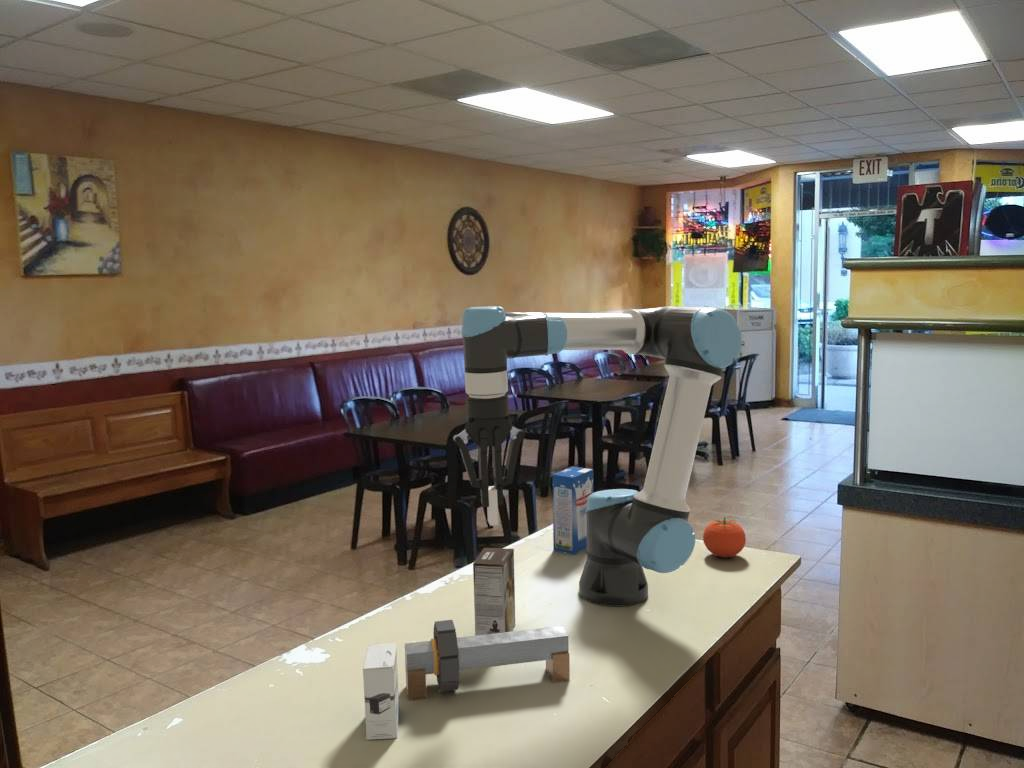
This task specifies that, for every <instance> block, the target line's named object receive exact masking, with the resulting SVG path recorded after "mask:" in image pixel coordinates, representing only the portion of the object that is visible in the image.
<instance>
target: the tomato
mask: <svg viewBox="0 0 1024 768" xmlns="http://www.w3.org/2000/svg"><path fill="white" fill-rule="evenodd" d="M702 535H703V536H702V539H703V540H702V541H703V544H704V546H705V547H706V549H707V550H708V551H709V552H710V553H711V554H713V555H715V556H716V557H720V558H731V557H734V556H736V555H738V554H739V553H741V552H742V550H743V549H744V547H745V545H746V542H747V541H746V537H747V536H746V534H745V531H744V529H743V528H742V526H741V525H740V524H738V523H737V522H736V521H735V520H732V519H730V520H729V519H726V517H724V518H723V519H715V520H713V521H712V522H709V524H707V526H706V527H705V528H704V531H703V534H702Z"/></svg>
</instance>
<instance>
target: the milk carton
mask: <svg viewBox="0 0 1024 768" xmlns="http://www.w3.org/2000/svg"><path fill="white" fill-rule="evenodd" d="M592 493H594V469H593V468H588V467H587V468H586V467H580V466H575V465H574V466H570V467H567V468H565V469H563V470H559V471H557V472H556V473H553V474H552V522H553V523H552V524H553V525H552V528H553V532H552V533H553V534H552V535H553V536H552V537H553V538H552V539H553V540H552V541H553V551H554V552H559V553H563V554H569V555H577V554H578V553H581V552H582V551H584V550H587V514H586V506H587V498H588V497H589V495H591V494H592Z"/></svg>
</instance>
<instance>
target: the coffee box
mask: <svg viewBox="0 0 1024 768" xmlns="http://www.w3.org/2000/svg"><path fill="white" fill-rule="evenodd" d="M472 566H473V567H472V568H473V569H472V571H473V600H474V601H473V602H474V604H473V605H474V608H473V609H474V632H475V633H474V634H475V635H474V636H477V635H486V634H495V633H504V632H513V629H514V628H515V626H516V597H515V595H516V593H515V592H516V589H515V588H516V587H515V586H516V585H515V549H514V548H501V547H483V549H482V550H481V552H480V553H479V554H478V556H477V557H476V559H475V560H474V562H473V563H472Z"/></svg>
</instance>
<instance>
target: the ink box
mask: <svg viewBox="0 0 1024 768" xmlns="http://www.w3.org/2000/svg"><path fill="white" fill-rule="evenodd" d="M397 646H398V645H397V643H394V642H393V643H381V644H380V643H379V644H368V645H367V647H366V653H365V656H364V661H363V666H362V674H363V675H362V676H363V677H362V679H363V695H364V696H363V698H364V712H365V713H364V715H365V732H366V733H365V734H366V735H365V736H366V738H365V739H366V740H367V741H369V740H386V739H387V740H388V739H389V740H390V739H397V738H398V730H399V716H400V715H399V714H400V702H399V699H400V698H399V675H398V674H399V673H398V652H397V651H398V650H397Z"/></svg>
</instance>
